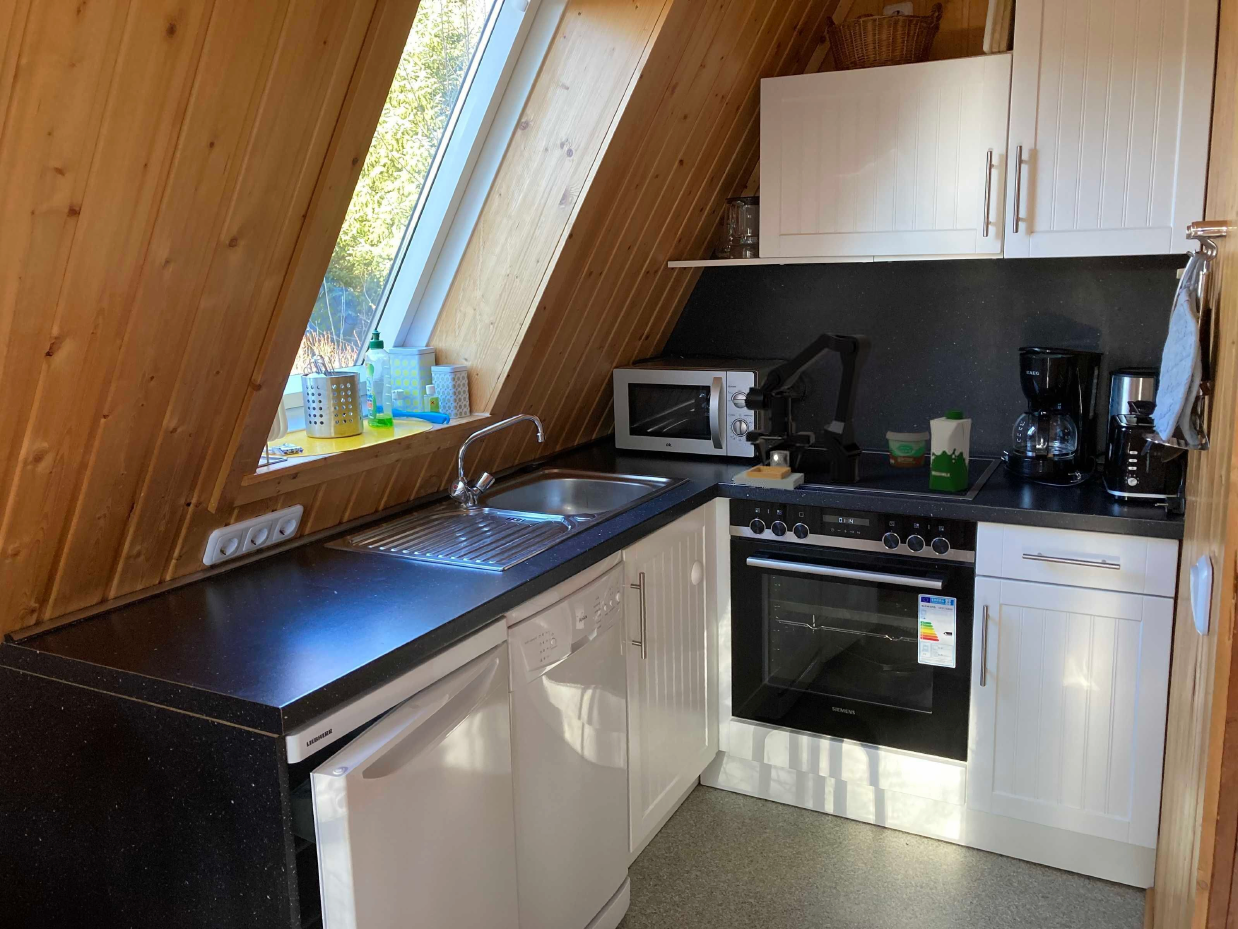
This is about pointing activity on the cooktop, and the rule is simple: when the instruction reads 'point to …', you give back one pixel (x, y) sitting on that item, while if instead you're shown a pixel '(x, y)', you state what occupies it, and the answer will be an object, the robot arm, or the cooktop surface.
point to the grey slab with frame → (770, 477)
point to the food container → (907, 448)
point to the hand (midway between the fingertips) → (779, 467)
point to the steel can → (779, 459)
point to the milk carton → (950, 452)
